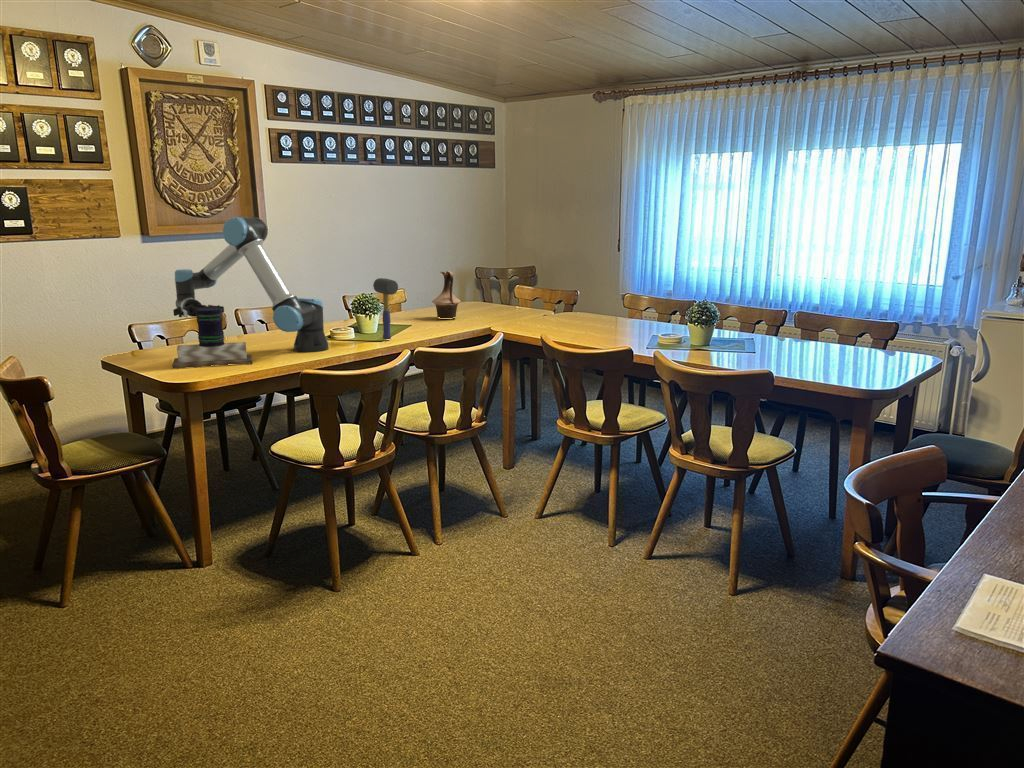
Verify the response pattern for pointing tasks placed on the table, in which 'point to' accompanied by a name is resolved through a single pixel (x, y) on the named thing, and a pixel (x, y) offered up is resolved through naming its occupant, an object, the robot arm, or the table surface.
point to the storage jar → (210, 326)
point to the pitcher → (446, 298)
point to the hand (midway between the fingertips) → (203, 313)
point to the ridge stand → (211, 355)
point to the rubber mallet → (386, 301)
